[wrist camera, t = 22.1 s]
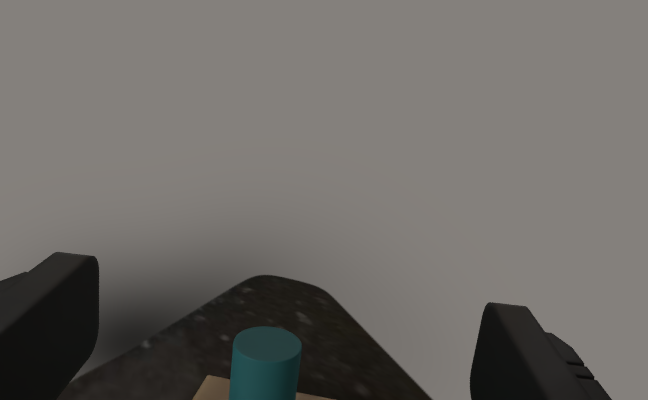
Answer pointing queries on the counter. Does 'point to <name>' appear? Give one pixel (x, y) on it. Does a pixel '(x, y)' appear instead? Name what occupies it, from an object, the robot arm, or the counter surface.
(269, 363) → the dish brush
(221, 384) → the birch board
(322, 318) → the counter surface
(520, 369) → the robot arm
